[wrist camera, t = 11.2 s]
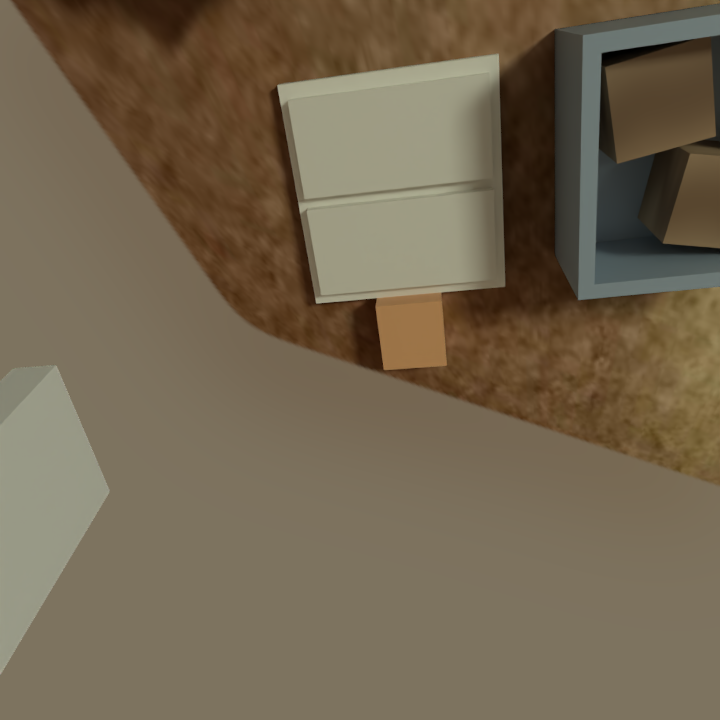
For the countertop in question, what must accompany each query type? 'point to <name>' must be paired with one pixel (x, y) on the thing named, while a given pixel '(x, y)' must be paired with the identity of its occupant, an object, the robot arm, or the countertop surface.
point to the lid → (400, 192)
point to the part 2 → (684, 195)
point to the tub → (618, 167)
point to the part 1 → (656, 98)
